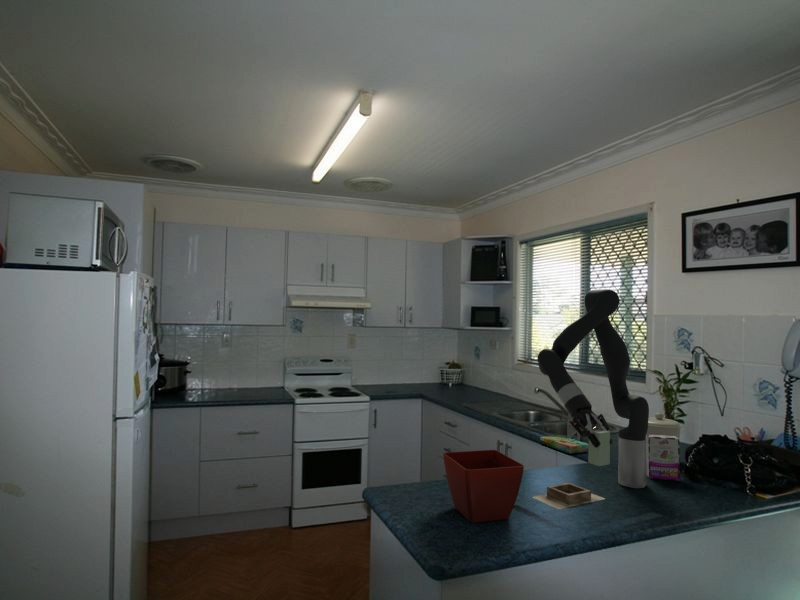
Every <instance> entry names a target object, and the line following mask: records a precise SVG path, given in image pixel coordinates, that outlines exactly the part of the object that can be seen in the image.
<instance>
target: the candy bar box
mask: <svg viewBox="0 0 800 600" xmlns="http://www.w3.org/2000/svg"><path fill="white" fill-rule="evenodd" d="M680 455H681V454H680V437H679V438H678V437H677V436H666V435H649V434H646V460H647V478H649V479H650V480H663V481H673V482H674V481H675V482H679V481H680V482H681V479H680V478H681V473H680V471H681V470H680V469H681V468H680V465H681V464H680V462H681V461H680Z"/></svg>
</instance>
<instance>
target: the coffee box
mask: <svg viewBox="0 0 800 600" xmlns="http://www.w3.org/2000/svg"><path fill="white" fill-rule="evenodd" d="M571 419H572V417H571V416H570V414H569V413H568V412H567V430H566V431H567V433H566V436H567V437H566V438H569V439H575V440H576V441H580V442H581V435H580V434H579V433H578V431H577V430H576V429H575V428H574V427H573V426H572V425H571V423H570V420H571ZM580 430H582V428H581V427H580Z"/></svg>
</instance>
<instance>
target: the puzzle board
mask: <svg viewBox="0 0 800 600" xmlns="http://www.w3.org/2000/svg"><path fill="white" fill-rule="evenodd" d="M531 498H533V499H534V500H536V501H539V502H540V503H543V504H546V505H548V506H550V507H553V508H555V509H557V510H563V509H568V508H571V507H577V506H581V505H587V504H589V503H594V502H595V503H596V502H598V501H603V500H606V498H605V497H602V496H599V495H597V494H594V493H593V492H592V490H590V489H587V488H584V487H582V486H579V485H577V484H574V483H570V482H565V483H559V484H554V485H548V486H546V493H545V494H540V495H535V496H532V497H531Z"/></svg>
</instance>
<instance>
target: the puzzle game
mask: <svg viewBox="0 0 800 600" xmlns="http://www.w3.org/2000/svg"><path fill="white" fill-rule="evenodd" d="M539 440H540V441H542V442H544V443H545V445H546V446H547V447H550V448H551V449H552V448H553V449H555V450H559V451H561V452H564V453H567V454H578V453H585V452H586V451H587V450H588V448H589V443H587V442H583V441H581V440H580V441H576V440H575V439H569V438H567V437H565V436H562V435H559V434H557V435H548V436H540V437H539Z"/></svg>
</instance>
